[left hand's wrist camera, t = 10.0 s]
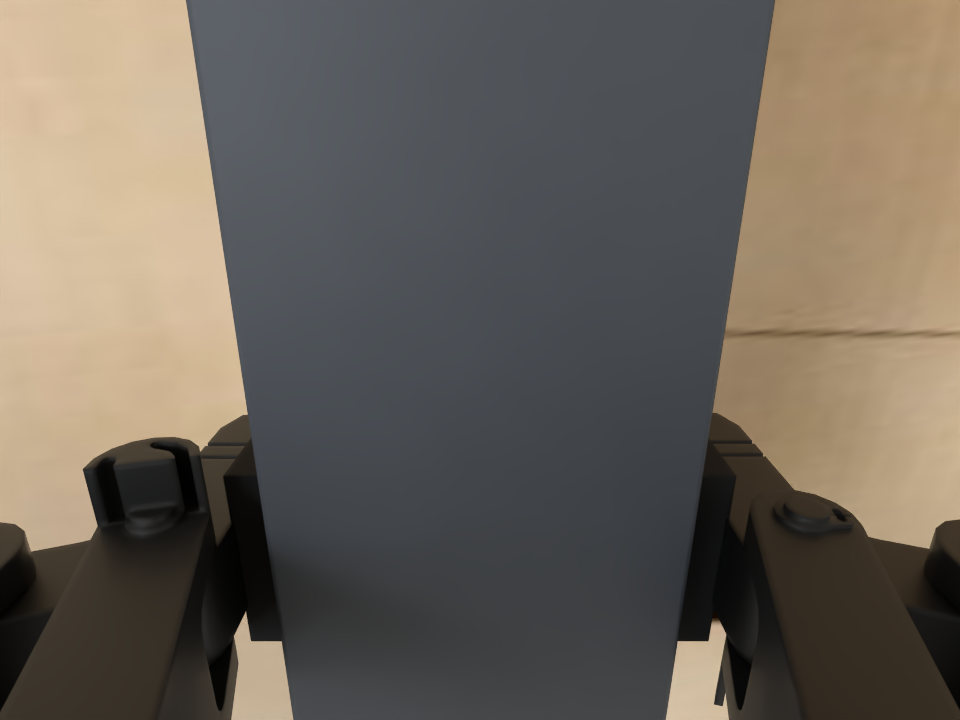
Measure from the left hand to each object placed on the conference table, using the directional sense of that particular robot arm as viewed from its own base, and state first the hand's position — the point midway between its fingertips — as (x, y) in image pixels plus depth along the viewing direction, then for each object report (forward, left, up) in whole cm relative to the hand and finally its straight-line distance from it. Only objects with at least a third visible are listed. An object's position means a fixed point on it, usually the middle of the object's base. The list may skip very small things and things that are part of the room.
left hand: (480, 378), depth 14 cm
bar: (+17, +13, -1) cm, 22 cm away
